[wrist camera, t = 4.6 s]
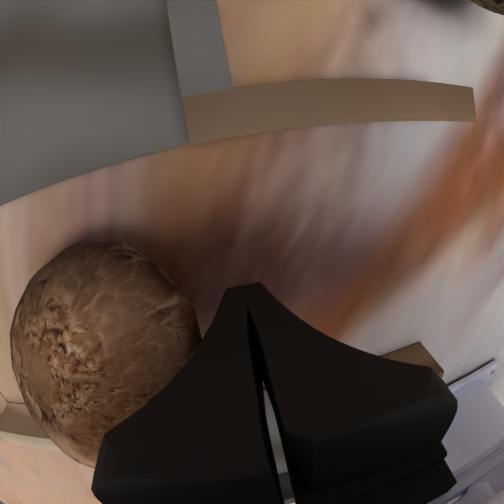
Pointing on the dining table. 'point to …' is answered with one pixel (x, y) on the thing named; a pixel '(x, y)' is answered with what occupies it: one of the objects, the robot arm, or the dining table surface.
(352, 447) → the robot arm
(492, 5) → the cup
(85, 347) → the mushroom
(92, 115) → the grey brown flat frame
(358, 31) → the dining table surface
